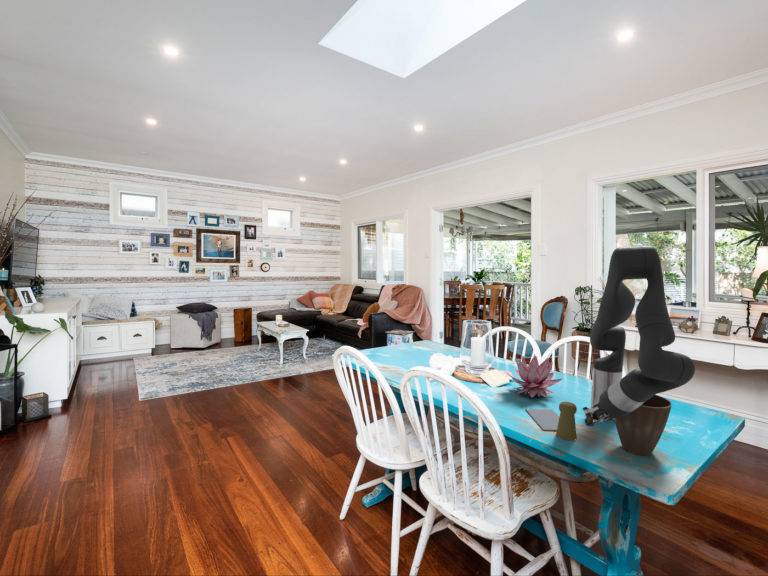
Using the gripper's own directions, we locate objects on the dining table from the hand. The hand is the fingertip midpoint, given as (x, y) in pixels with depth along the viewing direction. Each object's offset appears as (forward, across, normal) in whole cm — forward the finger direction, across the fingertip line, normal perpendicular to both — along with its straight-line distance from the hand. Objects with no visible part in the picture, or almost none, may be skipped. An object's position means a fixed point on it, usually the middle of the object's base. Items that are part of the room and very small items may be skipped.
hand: (587, 423), depth 112 cm
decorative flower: (+39, -11, -27) cm, 49 cm away
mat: (+21, -2, -9) cm, 23 cm away
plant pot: (+5, -16, +7) cm, 18 cm away
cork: (+13, 0, 0) cm, 13 cm away
